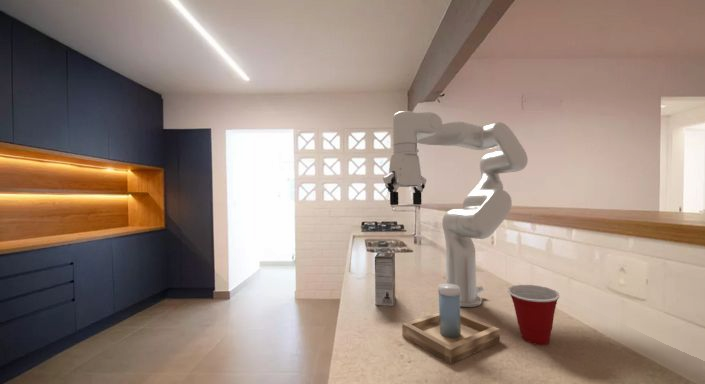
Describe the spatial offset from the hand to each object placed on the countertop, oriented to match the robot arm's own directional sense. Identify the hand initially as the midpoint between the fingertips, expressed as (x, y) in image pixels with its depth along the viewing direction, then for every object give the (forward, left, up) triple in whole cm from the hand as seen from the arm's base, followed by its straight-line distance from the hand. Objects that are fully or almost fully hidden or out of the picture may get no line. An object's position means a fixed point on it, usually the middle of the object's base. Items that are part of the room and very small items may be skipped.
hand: (406, 204), depth 88 cm
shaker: (+3, +19, -32) cm, 37 cm away
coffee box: (0, -11, -34) cm, 35 cm away
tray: (+3, +19, -33) cm, 38 cm away
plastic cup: (-14, +30, -34) cm, 47 cm away
